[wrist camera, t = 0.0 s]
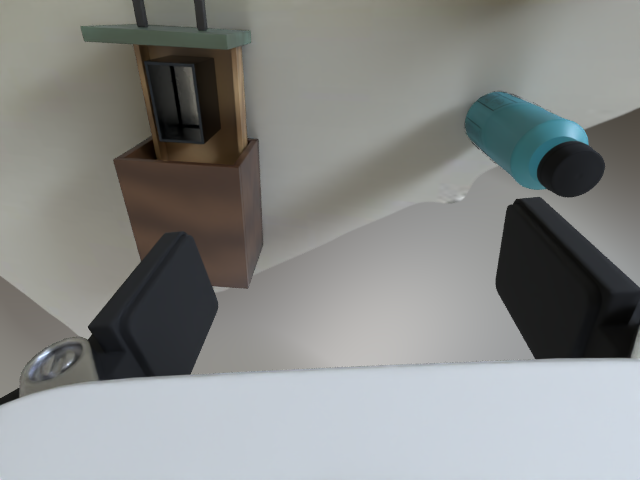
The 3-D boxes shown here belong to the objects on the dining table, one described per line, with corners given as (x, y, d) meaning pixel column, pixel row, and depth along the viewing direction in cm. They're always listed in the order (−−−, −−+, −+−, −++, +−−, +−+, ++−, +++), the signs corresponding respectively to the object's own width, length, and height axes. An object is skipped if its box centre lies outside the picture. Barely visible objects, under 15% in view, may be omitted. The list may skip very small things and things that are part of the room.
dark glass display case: (170, 54, 40) (143, 61, 35) (214, 57, 40) (193, 64, 35) (181, 126, 45) (159, 141, 39) (221, 128, 45) (204, 144, 39)
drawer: (123, -28, 37) (61, -41, 29) (247, -22, 37) (221, -32, 29) (162, 167, 49) (126, 197, 41) (257, 173, 49) (240, 205, 40)
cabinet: (156, 132, 47) (112, 159, 38) (258, 138, 47) (238, 167, 38) (177, 239, 56) (146, 281, 47) (263, 245, 56) (248, 288, 47)
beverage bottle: (452, 137, 45) (517, 209, 28) (470, 82, 42) (558, 126, 25) (501, 145, 46) (595, 221, 29) (524, 90, 42) (647, 140, 25)
